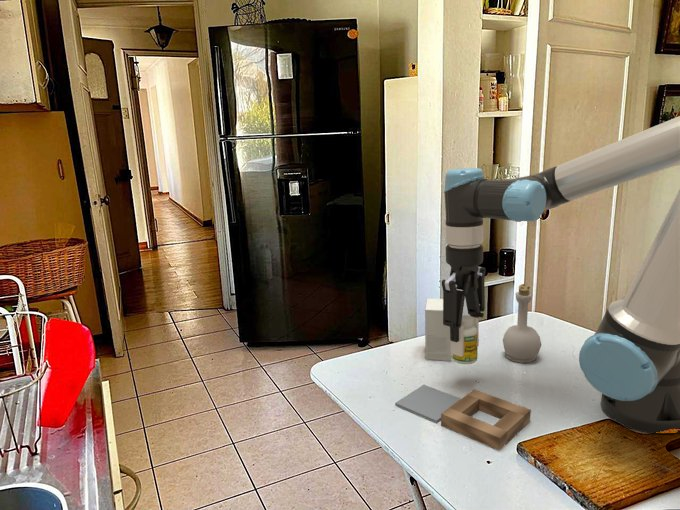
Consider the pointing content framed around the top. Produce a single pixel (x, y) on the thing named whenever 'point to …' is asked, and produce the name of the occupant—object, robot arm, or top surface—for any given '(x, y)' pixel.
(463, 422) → the socket block
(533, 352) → the potion bottle
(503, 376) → the top surface
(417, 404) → the rest mat
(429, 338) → the small box
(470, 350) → the supplement bottle
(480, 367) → the top surface
